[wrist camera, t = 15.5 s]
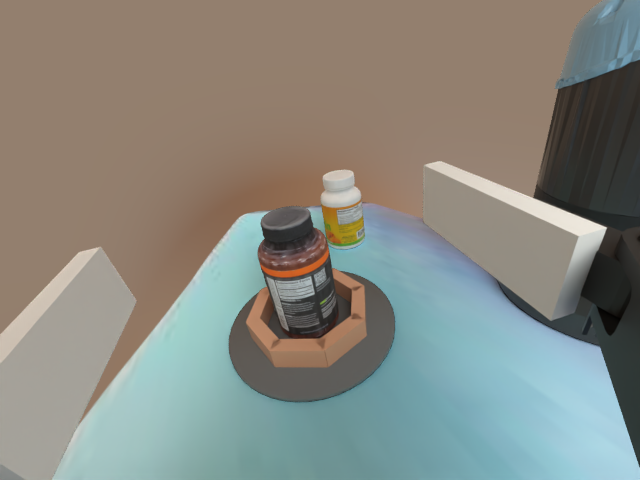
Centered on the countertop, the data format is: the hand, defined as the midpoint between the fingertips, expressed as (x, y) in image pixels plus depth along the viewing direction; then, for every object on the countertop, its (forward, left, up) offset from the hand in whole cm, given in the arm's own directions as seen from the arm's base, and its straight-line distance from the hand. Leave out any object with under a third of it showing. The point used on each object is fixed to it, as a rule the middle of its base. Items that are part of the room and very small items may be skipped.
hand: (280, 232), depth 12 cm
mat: (-5, -9, -16) cm, 19 cm away
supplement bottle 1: (-5, -9, -15) cm, 18 cm away
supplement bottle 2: (-18, -18, -16) cm, 30 cm away
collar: (-5, -9, -15) cm, 18 cm away
